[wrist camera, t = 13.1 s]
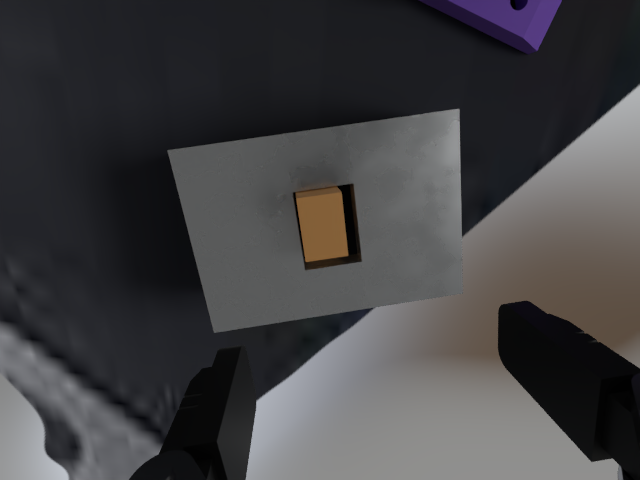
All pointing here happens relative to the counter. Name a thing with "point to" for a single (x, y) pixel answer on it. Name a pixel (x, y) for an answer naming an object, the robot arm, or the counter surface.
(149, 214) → the counter surface
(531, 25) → the bracket
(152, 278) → the counter surface
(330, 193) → the orange rectangular block
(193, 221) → the grey slotted platform
